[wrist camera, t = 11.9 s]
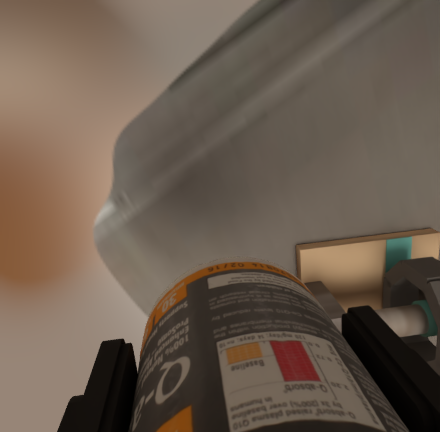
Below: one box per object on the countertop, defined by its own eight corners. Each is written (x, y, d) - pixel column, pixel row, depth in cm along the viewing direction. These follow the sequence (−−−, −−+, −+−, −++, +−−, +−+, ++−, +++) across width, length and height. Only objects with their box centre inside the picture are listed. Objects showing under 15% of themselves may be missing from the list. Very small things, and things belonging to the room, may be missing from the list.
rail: (296, 245, 27) (326, 281, 21) (431, 228, 28) (495, 259, 22) (300, 342, 29) (328, 398, 24) (424, 324, 30) (481, 375, 24)
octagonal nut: (384, 248, 26) (453, 296, 20) (412, 244, 26) (490, 291, 20) (381, 336, 28) (443, 407, 22) (407, 332, 28) (477, 402, 22)
